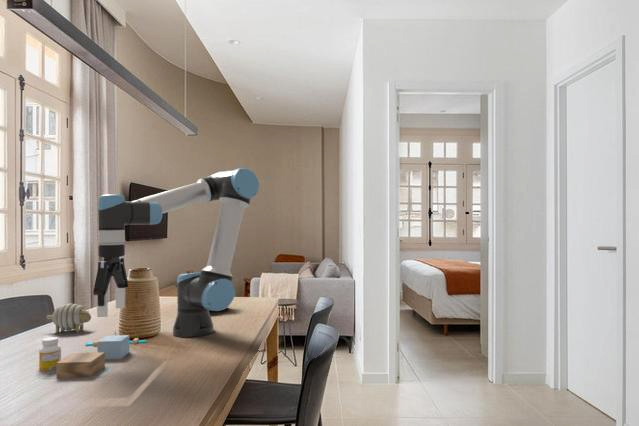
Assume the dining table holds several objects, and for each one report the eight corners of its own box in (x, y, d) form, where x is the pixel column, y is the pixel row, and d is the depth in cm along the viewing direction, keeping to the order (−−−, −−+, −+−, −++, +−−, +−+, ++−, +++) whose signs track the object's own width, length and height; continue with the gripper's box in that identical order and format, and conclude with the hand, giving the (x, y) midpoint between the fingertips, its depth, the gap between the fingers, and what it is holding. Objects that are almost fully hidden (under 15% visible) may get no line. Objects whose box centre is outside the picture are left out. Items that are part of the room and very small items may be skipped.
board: (117, 370, 134) (117, 365, 134) (103, 382, 124) (103, 377, 124) (61, 372, 133) (61, 366, 133) (42, 384, 123) (42, 378, 123)
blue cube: (129, 357, 147) (129, 335, 147) (121, 364, 140) (121, 341, 140) (106, 357, 147) (106, 335, 147) (97, 364, 140) (97, 341, 140)
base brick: (104, 366, 133) (104, 352, 133) (91, 376, 124) (90, 361, 124) (72, 367, 132) (72, 353, 132) (56, 377, 123) (56, 362, 123)
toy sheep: (86, 334, 178) (86, 305, 178) (39, 336, 176) (39, 306, 176) (95, 327, 189) (95, 300, 189) (51, 329, 186) (51, 302, 186)
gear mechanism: (90, 343, 167) (82, 350, 158) (90, 328, 167) (82, 334, 158) (149, 339, 170) (143, 346, 161) (148, 325, 170) (143, 331, 161)
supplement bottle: (45, 369, 135) (45, 336, 135) (64, 369, 135) (64, 336, 136) (35, 376, 130) (35, 341, 130) (55, 375, 130) (55, 340, 130)
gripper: (115, 242, 156) (115, 305, 156) (80, 246, 132) (80, 321, 131) (138, 242, 157) (138, 304, 156) (107, 246, 132) (107, 320, 131)
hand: (111, 312), depth 144 cm, fingers open, 13 cm apart
